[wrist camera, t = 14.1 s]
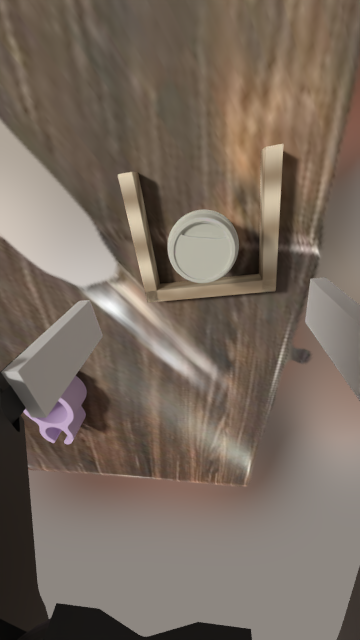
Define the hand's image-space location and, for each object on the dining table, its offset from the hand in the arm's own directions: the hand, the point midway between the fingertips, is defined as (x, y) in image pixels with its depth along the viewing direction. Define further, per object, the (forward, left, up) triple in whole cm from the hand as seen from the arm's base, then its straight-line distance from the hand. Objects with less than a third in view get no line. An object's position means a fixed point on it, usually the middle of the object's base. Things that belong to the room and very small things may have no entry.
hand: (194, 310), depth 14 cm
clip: (+34, -39, -27) cm, 58 cm away
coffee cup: (0, 0, -27) cm, 27 cm away
